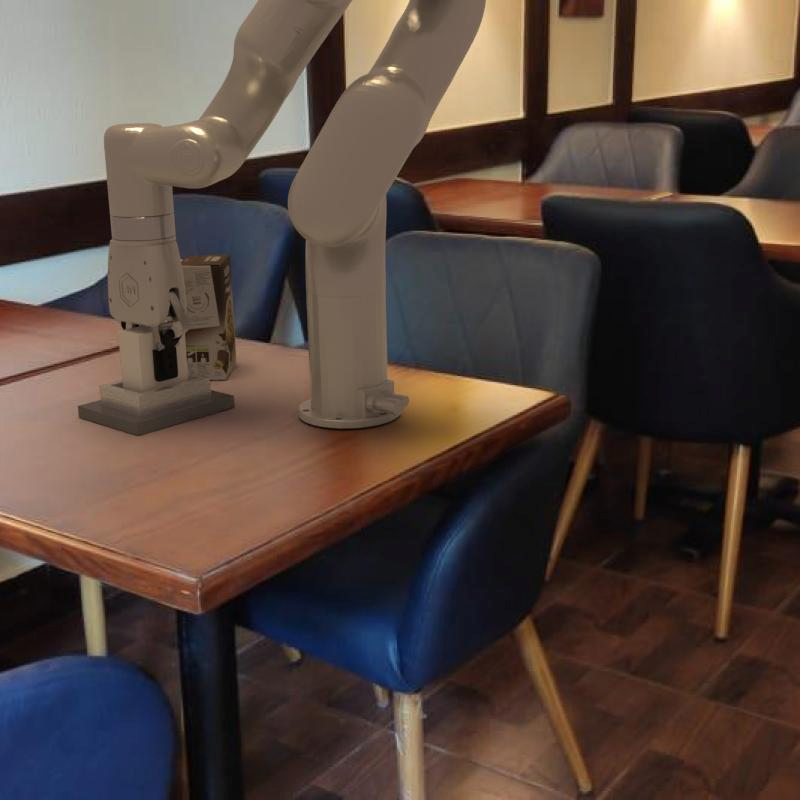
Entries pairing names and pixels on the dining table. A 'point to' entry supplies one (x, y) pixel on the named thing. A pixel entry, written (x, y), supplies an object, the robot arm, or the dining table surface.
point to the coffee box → (209, 316)
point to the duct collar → (155, 405)
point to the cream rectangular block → (146, 360)
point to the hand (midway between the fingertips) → (154, 374)
